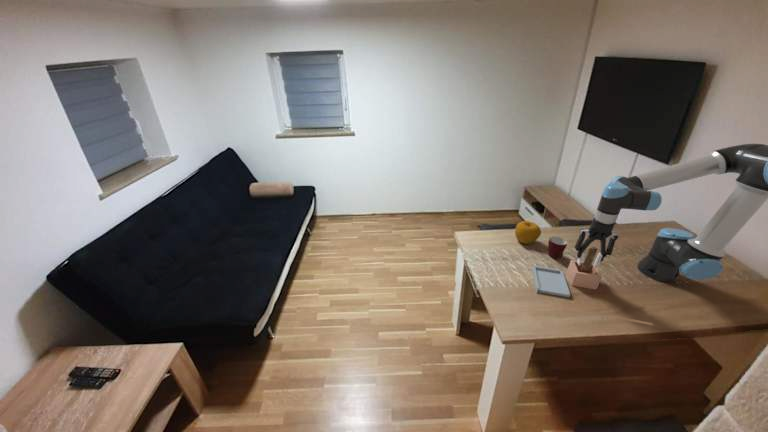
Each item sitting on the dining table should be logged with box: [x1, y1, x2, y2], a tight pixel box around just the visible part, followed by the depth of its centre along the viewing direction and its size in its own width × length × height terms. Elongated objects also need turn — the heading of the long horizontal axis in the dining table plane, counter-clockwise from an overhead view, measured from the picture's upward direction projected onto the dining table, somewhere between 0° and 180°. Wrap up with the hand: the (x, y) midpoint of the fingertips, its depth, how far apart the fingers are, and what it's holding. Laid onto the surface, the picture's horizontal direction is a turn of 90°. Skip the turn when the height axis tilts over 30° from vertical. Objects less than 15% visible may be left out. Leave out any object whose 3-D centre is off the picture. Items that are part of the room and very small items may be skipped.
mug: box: [547, 236, 568, 259], centre depth 154 cm, size 10×8×10 cm
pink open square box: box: [566, 259, 602, 290], centre depth 138 cm, size 10×10×8 cm
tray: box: [531, 265, 572, 298], centre depth 139 cm, size 18×13×2 cm
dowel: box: [580, 245, 598, 273], centre depth 135 cm, size 3×3×18 cm
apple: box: [514, 220, 542, 245], centre depth 168 cm, size 13×13×11 cm
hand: (587, 264), depth 135 cm, fingers open, 6 cm apart
